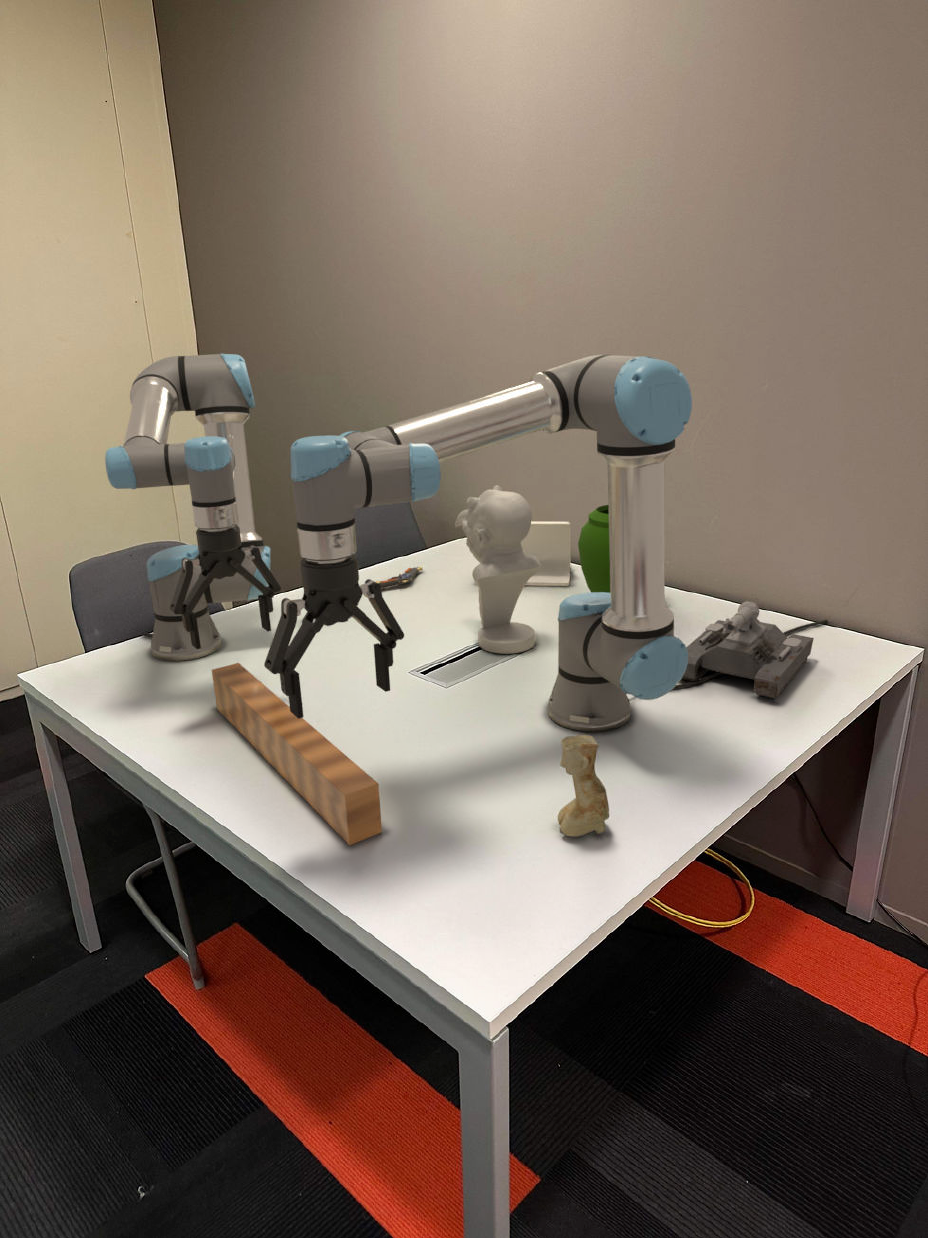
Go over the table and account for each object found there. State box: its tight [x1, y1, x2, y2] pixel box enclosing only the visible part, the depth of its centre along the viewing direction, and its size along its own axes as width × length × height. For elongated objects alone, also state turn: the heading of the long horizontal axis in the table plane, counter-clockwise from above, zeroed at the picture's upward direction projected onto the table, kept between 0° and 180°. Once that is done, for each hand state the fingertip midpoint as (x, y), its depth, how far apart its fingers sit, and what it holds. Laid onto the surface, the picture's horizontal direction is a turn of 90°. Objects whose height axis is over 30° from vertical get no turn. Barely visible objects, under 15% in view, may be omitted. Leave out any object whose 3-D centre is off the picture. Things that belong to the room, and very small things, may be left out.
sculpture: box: [557, 734, 610, 838], centre depth 122 cm, size 6×7×15 cm
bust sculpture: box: [454, 485, 542, 655], centre depth 190 cm, size 16×24×35 cm, turn 28°
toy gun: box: [375, 566, 424, 590], centre depth 237 cm, size 3×19×10 cm
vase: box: [577, 504, 610, 593], centre depth 210 cm, size 20×20×24 cm
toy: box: [681, 600, 814, 700], centre depth 172 cm, size 25×20×15 cm
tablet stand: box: [520, 520, 572, 587], centre depth 236 cm, size 18×25×17 cm
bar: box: [211, 662, 383, 846], centre depth 144 cm, size 55×5×8 cm, turn 35°
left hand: (232, 637), depth 159 cm, fingers open, 13 cm apart
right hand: (341, 701), depth 120 cm, fingers open, 13 cm apart
